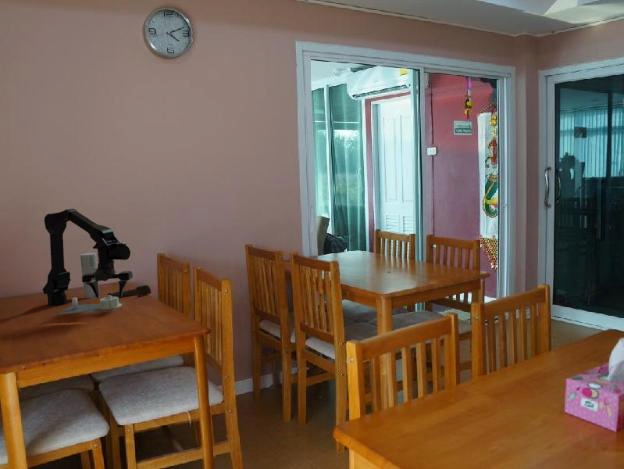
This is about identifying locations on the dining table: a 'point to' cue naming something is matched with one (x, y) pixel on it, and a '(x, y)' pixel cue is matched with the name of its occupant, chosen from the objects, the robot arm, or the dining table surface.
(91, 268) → the spray can
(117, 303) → the ring
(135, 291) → the hand tool
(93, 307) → the rod board
